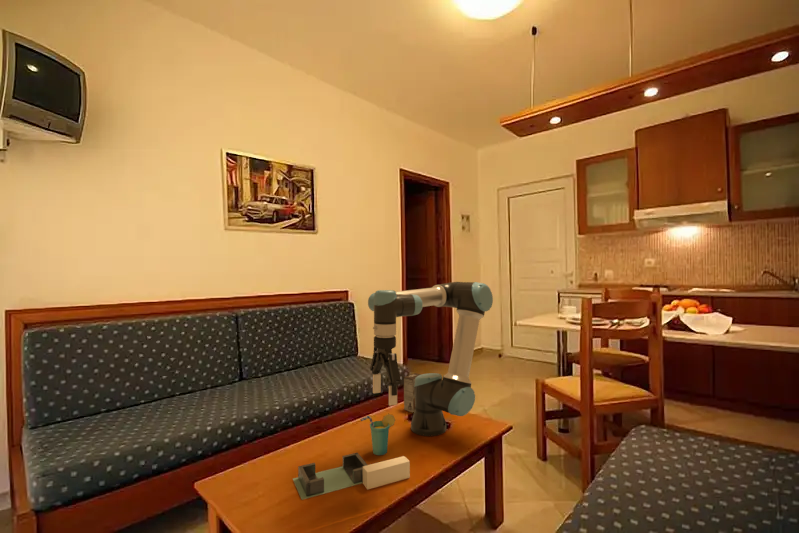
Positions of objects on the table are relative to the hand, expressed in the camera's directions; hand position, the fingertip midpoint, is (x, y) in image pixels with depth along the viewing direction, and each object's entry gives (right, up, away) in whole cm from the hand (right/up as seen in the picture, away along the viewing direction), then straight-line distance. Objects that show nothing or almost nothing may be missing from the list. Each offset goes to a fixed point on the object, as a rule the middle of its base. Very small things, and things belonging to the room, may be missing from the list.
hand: (384, 398), depth 134 cm
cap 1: (-23, -25, -8) cm, 35 cm away
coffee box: (+13, -25, +58) cm, 64 cm away
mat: (-16, -25, -5) cm, 30 cm away
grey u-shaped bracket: (-10, -25, -1) cm, 27 cm away
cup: (-3, -25, +13) cm, 29 cm away
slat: (+1, -25, -6) cm, 26 cm away
